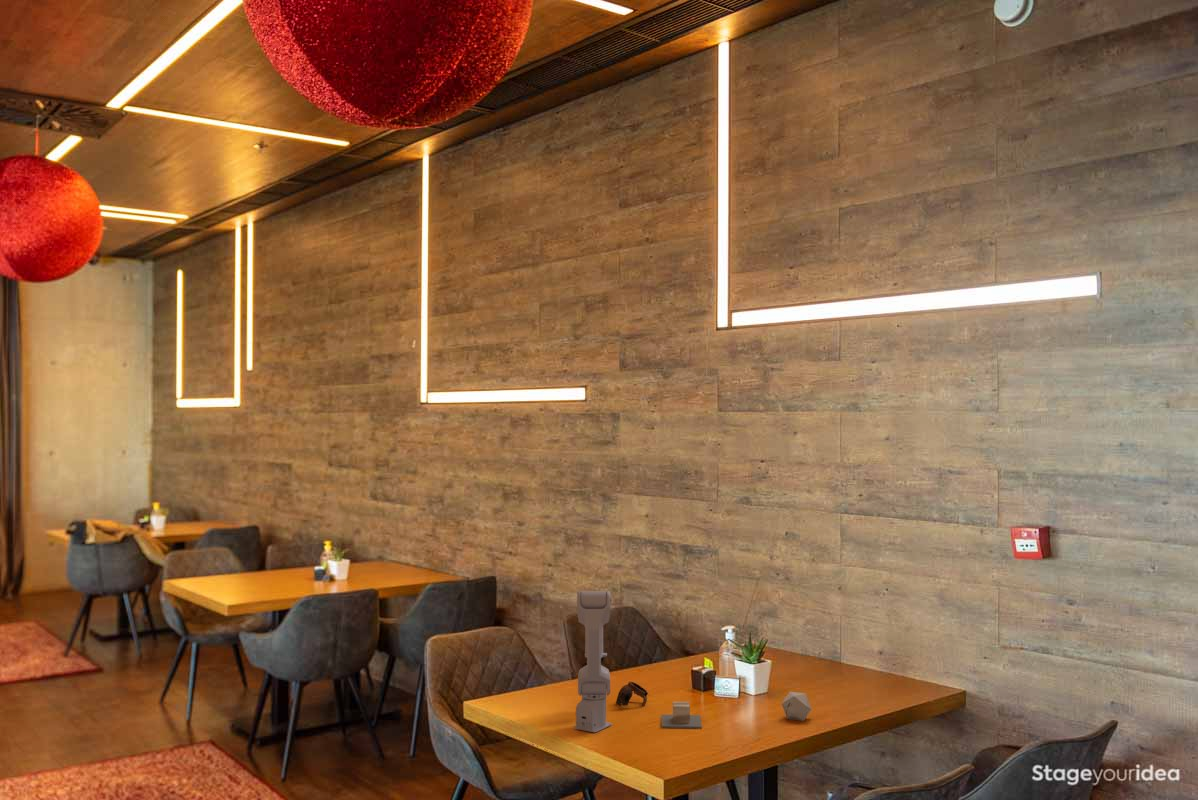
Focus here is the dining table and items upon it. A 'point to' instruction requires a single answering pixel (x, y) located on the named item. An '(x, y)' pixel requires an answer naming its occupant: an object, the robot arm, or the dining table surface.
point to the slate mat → (694, 723)
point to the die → (796, 706)
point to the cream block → (681, 712)
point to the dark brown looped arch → (627, 693)
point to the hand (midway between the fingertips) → (594, 682)
